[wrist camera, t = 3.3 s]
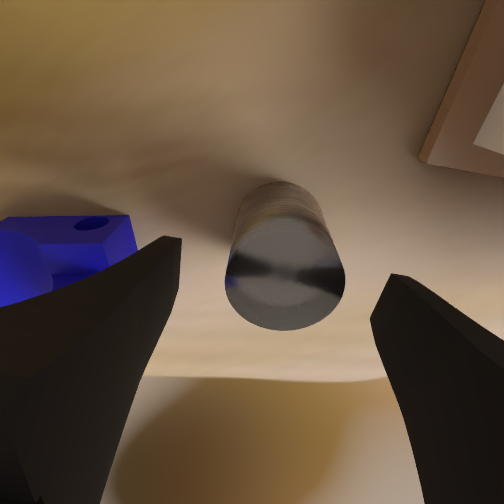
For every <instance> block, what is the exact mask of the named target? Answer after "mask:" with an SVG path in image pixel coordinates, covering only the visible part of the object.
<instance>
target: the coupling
mask: <svg viewBox="0 0 504 504" xmlns="http://www.w3.org/2000/svg"><path fill="white" fill-rule="evenodd" d="M344 288H345V273H344V269H343V266H342V263H341V261H340V258H339V256H338V253H337V250H336V248H335V245H334V243H333V240H332V238H331V235H330V233H329V230H328V228H327V225H326V222H325V220H324V217H323V215H322V212H321V210H320V207H319V205H318V203H317V201H316V200H315V198H314V197H313V196H312V195H311V194H310V193H309V192H308V191H306V190H305V189H303V188H301V187H300V186H297V185H295V184H291V183H284V182H276V183H270V184H267V185H264V186H261V187H259V188H257V189H256V190H254V191H253V192H252V193H250V194H249V195H248V196H247V197H246V199H245V200H244V201H243V203H242V205H241V206H240V209H239V212H238V216H237V221H236V226H235V231H234V236H233V241H232V246H231V250H230V255H229V260H228V265H227V270H226V275H225V290H226V294H227V297H228V299H229V302H230V303H231V305H232V307H233V308H234V309H235V310H236V312H237V313H239V314H240V315H241V316H242V317H243V318H244V319H246V320H247V321H249V322H251V323H253V324H255V325H257V326H260V327H263V328H266V329H271V330H279V331H287V330H296V329H301V328H305V327H308V326H310V325H313V324H315V323H317V322H319V321H321V320H322V319H324V318H325V317H326V316H328V315H329V314H330V313H331V312H332V311H333V310H334V309H335V307H336V306H337V305H338V303H339V302H340V300H341V298H342V295H343V292H344Z"/></svg>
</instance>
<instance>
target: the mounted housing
mask: <svg viewBox="0 0 504 504" xmlns="http://www.w3.org/2000/svg"><path fill="white" fill-rule="evenodd" d="M417 159H419V160H421V161H423V162H424V163H427V164H432V165H437V166H443V167H448V168H453V169H459V170H464V171H469V172H474V173H480V174H485V175H490V176H496V177H501V178H504V0H486V1H485V3H484V6H483V8H482V10H481V13H480V15H479V17H478V19H477V22H476V24H475V26H474V29H473V31H472V33H471V36H470V38H469V40H468V43H467V45H466V47H465V50H464V52H463V54H462V56H461V59H460V61H459V63H458V66H457V68H456V70H455V73H454V75H453V77H452V80H451V82H450V84H449V87H448V89H447V91H446V93H445V96H444V98H443V100H442V103H441V105H440V107H439V110H438V112H437V114H436V117H435V119H434V121H433V124H432V126H431V128H430V131H429V133H428V135H427V137H426V140H425V142H424V144H423V147H422V149H421V151H420V154H419V156H418V158H417Z"/></svg>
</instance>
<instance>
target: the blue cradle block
mask: <svg viewBox="0 0 504 504" xmlns="http://www.w3.org/2000/svg"><path fill="white" fill-rule="evenodd" d="M137 251H138V249H137V245H136V241H135V237H134V233H133V229H132V225H131V221H130V217H129V215H110V216H42V217H7V218H6V219H4V220H2V221H0V307H3V306H7V305H10V304H14V303H17V302H21V301H24V300H27V299H30V298H33V297H36V296H39V295H42V294H45V293H48V292H51V291H54V290H57V289H60V288H62V287H65V286H68V285H70V284H72V283H75V282H77V281H80V280H82V279H85V278H87V277H89V276H91V275H94V274H96V273H98V272H100V271H102V270H104V269H106V268H107V267H109V266H111V265H113V264H115V263H117V262H119V261H121V260H123V259H125V258H126V257H128V256H130V255H132V254H133V253H135V252H137Z"/></svg>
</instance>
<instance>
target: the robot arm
mask: <svg viewBox="0 0 504 504" xmlns="http://www.w3.org/2000/svg"><path fill="white" fill-rule="evenodd" d="M181 245H182V238H175V237H169V236H162V237H160V238H158V239H157V240H155V241H153V242H152V243H150V244H148V245H147V246H145V247H143V248H142V249H140V250H138V251H137V252H135V253H133V254H132V255H130V256H128V257H126V258H125V259H123V260H121V261H119V262H117V263H115V264H113V265H111V266H109V267H107V268H106V269H104V270H102V271H100V272H98V273H96V274H94V275H91V276H89V277H87V278H85V279H82V280H80V281H77V282H75V283H72V284H70V285H68V286H65V287H62V288H60V289H57V290H54V291H51V292H48V293H45V294H42V295H39V296H36V297H33V298H30V299H27V300H24V301H21V302H17V303H14V304H10V305H7V306H3V307H0V504H100V501H101V498H102V494H103V491H104V488H105V485H106V482H107V479H108V476H109V472H110V469H111V466H112V463H113V460H114V457H115V453H116V450H117V447H118V444H119V441H120V438H121V435H122V432H123V429H124V426H125V423H126V420H127V417H128V414H129V411H130V408H131V405H132V402H133V400H134V396H135V394H136V391H137V388H138V385H139V382H140V380H141V377H142V375H143V373H144V370H145V368H146V366H147V364H148V361H149V359H150V357H151V355H152V353H153V351H154V349H155V346H156V344H157V342H158V340H159V338H160V336H161V333H162V331H163V329H164V327H165V325H166V323H167V320H168V318H169V316H170V314H171V311H172V308H173V305H174V302H175V298H176V295H177V292H178V289H179V275H180V260H181ZM370 322H371V327H372V332H373V336H374V340H375V344H376V347H377V350H378V352H379V355H380V358H381V360H382V363H383V366H384V368H385V371H386V373H387V376H388V378H389V381H390V383H391V386H392V389H393V391H394V394H395V396H396V398H397V401H398V403H399V407H400V410H401V412H402V415H403V418H404V421H405V425H406V429H407V432H408V436H409V440H410V443H411V447H412V451H413V455H414V459H415V463H416V467H417V471H418V475H419V479H420V483H421V487H422V493H423V498H424V502H425V504H504V341H503V340H502V339H500V338H499V337H497V336H496V335H494V334H493V333H491V332H490V331H488V330H487V329H485V328H484V327H482V326H481V325H479V324H478V323H476V322H475V321H473V320H472V319H470V318H469V317H468V316H466V315H465V314H463V313H462V312H460V311H459V310H458V309H456V308H455V307H453V306H452V305H451V304H449V303H448V302H446V301H445V300H444V299H442V298H441V297H439V296H438V295H437V294H435V293H434V292H432V291H431V290H430V289H428V288H427V287H425V286H424V285H422V284H421V283H419V282H417V281H416V280H414V279H412V278H411V277H409V276H404V275H398V274H392V273H391V275H390V277H389V279H388V281H387V283H386V285H385V287H384V289H383V292H382V294H381V296H380V298H379V300H378V302H377V304H376V306H375V308H374V310H373V312H372V315H371V317H370Z"/></svg>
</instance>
